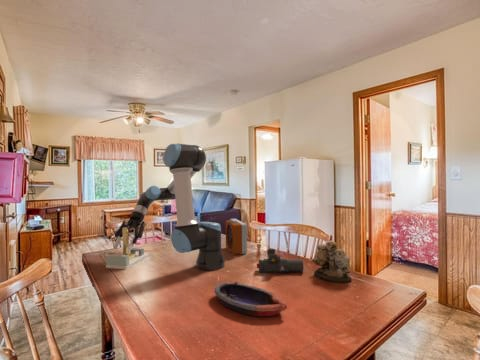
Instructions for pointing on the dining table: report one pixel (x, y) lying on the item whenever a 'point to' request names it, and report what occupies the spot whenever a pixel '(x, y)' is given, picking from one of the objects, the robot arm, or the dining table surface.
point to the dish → (249, 299)
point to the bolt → (126, 243)
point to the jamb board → (131, 262)
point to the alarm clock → (236, 236)
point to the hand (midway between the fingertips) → (122, 248)
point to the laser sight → (278, 264)
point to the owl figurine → (332, 263)
